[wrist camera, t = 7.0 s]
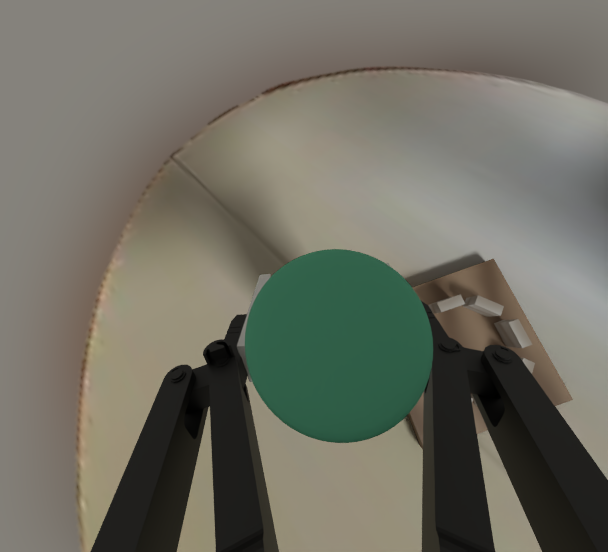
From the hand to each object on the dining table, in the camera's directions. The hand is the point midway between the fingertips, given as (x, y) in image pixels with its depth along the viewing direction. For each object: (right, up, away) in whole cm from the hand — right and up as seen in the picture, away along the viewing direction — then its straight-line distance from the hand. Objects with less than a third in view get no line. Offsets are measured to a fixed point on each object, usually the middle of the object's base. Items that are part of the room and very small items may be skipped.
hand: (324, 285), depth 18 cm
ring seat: (+18, -9, +14) cm, 25 cm away
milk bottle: (+1, -5, +8) cm, 9 cm away
